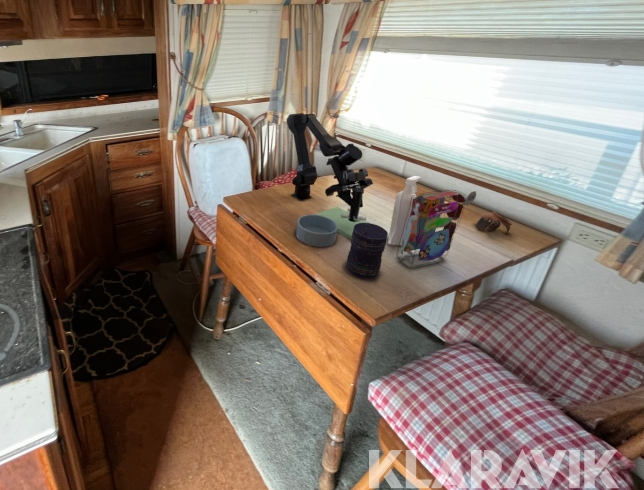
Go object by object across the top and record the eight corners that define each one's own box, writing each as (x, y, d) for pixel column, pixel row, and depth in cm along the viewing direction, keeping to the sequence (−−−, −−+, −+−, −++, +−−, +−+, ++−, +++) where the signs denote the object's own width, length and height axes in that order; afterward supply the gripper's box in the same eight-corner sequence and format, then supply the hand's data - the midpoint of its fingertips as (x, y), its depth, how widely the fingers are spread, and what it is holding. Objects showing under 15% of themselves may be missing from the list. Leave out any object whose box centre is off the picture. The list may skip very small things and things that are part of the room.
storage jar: (355, 257, 123) (365, 211, 116) (384, 271, 115) (396, 223, 108) (339, 268, 117) (348, 220, 110) (368, 284, 110) (380, 234, 103)
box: (449, 246, 128) (469, 184, 119) (466, 255, 123) (488, 191, 113) (394, 259, 121) (411, 194, 112) (409, 270, 116) (428, 203, 106)
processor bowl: (288, 232, 138) (289, 220, 135) (315, 223, 144) (316, 211, 142) (315, 251, 126) (317, 238, 124) (343, 240, 132) (346, 227, 130)
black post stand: (338, 221, 137) (343, 191, 132) (343, 212, 143) (348, 183, 138) (363, 228, 132) (369, 196, 127) (367, 218, 139) (373, 188, 134)
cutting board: (313, 217, 148) (313, 214, 148) (336, 209, 154) (337, 206, 154) (353, 240, 132) (354, 237, 131) (378, 231, 138) (378, 227, 137)
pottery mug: (473, 221, 145) (490, 207, 141) (496, 238, 141) (514, 224, 137) (473, 227, 135) (492, 211, 132) (498, 245, 131) (518, 229, 128)
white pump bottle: (378, 243, 130) (392, 180, 121) (394, 232, 137) (409, 172, 127) (396, 251, 125) (413, 187, 116) (413, 240, 132) (430, 178, 122)
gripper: (334, 165, 129) (352, 205, 124) (374, 158, 135) (392, 196, 130) (317, 177, 139) (333, 214, 134) (355, 170, 145) (371, 206, 140)
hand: (357, 207), depth 134 cm, fingers closed on black post stand, 3 cm apart
